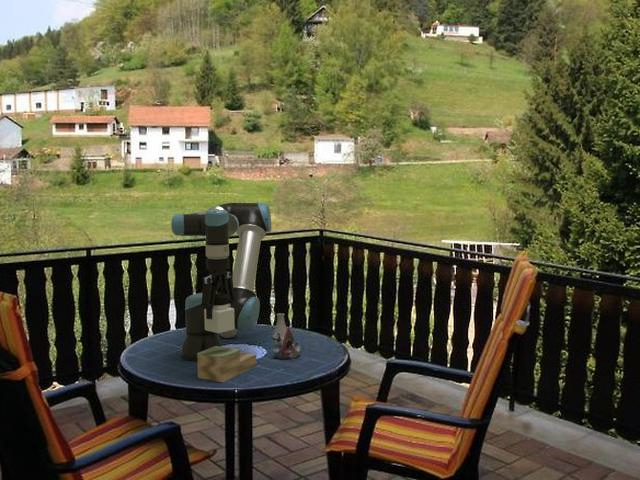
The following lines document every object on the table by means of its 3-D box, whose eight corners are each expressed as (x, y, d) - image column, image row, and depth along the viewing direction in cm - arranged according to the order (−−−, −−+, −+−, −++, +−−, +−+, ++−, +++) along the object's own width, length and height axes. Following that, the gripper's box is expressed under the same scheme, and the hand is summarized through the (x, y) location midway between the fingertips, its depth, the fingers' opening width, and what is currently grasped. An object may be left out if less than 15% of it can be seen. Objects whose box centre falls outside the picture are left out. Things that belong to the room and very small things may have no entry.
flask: (293, 337, 263) (292, 313, 262) (283, 341, 257) (282, 316, 256) (278, 335, 267) (278, 311, 266) (268, 338, 261) (268, 314, 260)
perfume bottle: (229, 340, 258) (229, 311, 257) (210, 337, 263) (210, 309, 262) (240, 336, 264) (240, 308, 263) (222, 333, 269) (221, 305, 268)
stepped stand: (197, 377, 211) (197, 353, 210) (232, 362, 228) (232, 339, 228) (222, 382, 206) (222, 356, 205) (256, 365, 224) (256, 342, 223)
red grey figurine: (300, 355, 228) (281, 327, 229) (277, 371, 231) (258, 344, 232) (310, 347, 239) (291, 321, 240) (288, 362, 242) (270, 336, 243)
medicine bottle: (235, 329, 212) (234, 293, 210) (218, 333, 206) (217, 297, 205) (220, 326, 216) (220, 291, 215) (204, 330, 211) (203, 294, 209)
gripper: (207, 262, 198) (209, 333, 200) (245, 254, 216) (246, 320, 219) (188, 260, 201) (190, 331, 204) (226, 253, 220) (227, 317, 222)
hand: (219, 325), depth 211 cm, fingers closed on medicine bottle, 8 cm apart
